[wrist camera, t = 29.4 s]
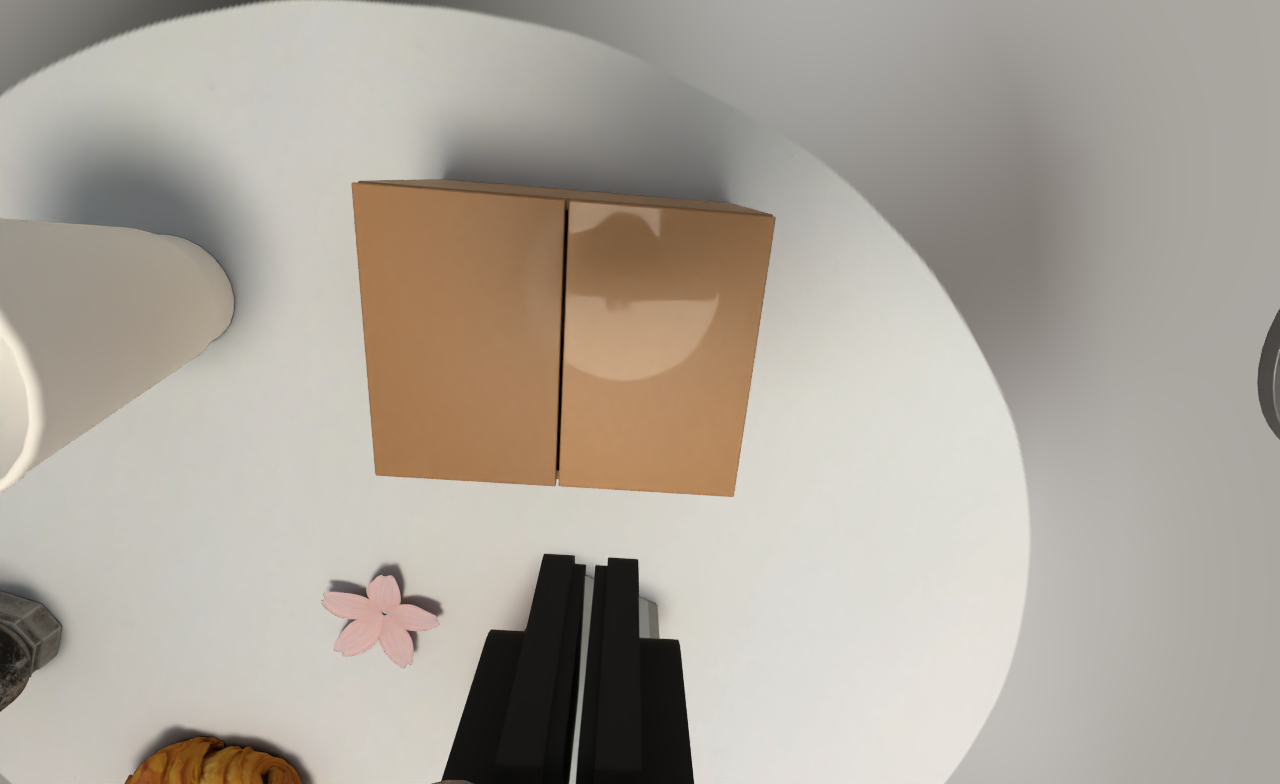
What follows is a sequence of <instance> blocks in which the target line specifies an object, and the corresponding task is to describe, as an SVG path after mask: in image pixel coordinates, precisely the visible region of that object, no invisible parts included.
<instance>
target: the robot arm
mask: <svg viewBox="0 0 1280 784" xmlns="http://www.w3.org/2000/svg"><path fill="white" fill-rule="evenodd" d="M585 575H586V565H583V564H575V556H573V555H556V554H544V556H543V559H542V564H541V568H540V572H539V576H538V581H537V585H536V589H535V593H534V598H533V602H532V606H531V611H530V615H529V619H528V623H527V628H526V631H507V630H490V632H489V633H488V636H487V638H486V641H485V644H484V647H483V650H482V654H481V657H480V660H479V663H478V666H477V669H476V673H475V676H474V679H473V682H472V685H471V689H470V692H469V695H468V698H467V701H466V704H465V708H464V711H463V714H462V717H461V720H460V723H459V727H458V730H457V733H456V736H455V739H454V742H453V746H452V749H451V752H450V755H449V758H448V761H447V765H446V768H445V771H444V774H443V777H442V780H441V782H437V783H433V784H569V782H570V773H571V763H572V753H573V744H574V734H575V724H576V715H577V705H578V694H579V681H580V663H581V646H582V628H583V610H584V593H585ZM576 784H694V778H693V769H692V759H691V749H690V739H689V729H688V719H687V710H686V700H685V690H684V680H683V670H682V660H681V651H680V644H679V641H678V640H674V639H656V638H640V636H639V572H638V559H624V558H608V566H600V565H596V566H595V576H594V587H593V598H592V608H591V619H590V629H589V640H588V651H587V661H586V672H585V682H584V693H583V704H582V714H581V725H580V735H579V746H578V758H577V771H576Z"/></svg>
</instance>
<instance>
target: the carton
mask: <svg viewBox="0 0 1280 784" xmlns="http://www.w3.org/2000/svg"><path fill="white" fill-rule="evenodd" d="M352 195H353V207H354V219H355V231H356V244H357V256H358V268H359V280H360V292H361V304H362V316H363V329H364V341H365V353H366V365H367V377H368V389H369V402H370V414H371V426H372V438H373V450H374V462H375V474H376V475H378V476H395V477H411V478H428V479H444V480H461V481H478V482H494V483H511V484H528V485H544V486H555V485H556V479H559V462H560V434H561V407H562V379H563V351H564V323H565V295H566V267H567V239H568V212H569V200H577V201H590V202H602V203H614V204H626V205H639V206H651V207H663V208H675V209H688V210H700V211H712V212H724V213H737V214H749V215H761V216H773V215H772V214H768V213H764V212H761V211H757V210H753V209H750V208H746V207H742V206H739V205H735V204H731V203H725V202H713V201H701V200H689V199H677V198H665V197H652V196H640V195H628V194H616V193H604V192H592V191H579V190H567V189H555V188H543V187H531V186H519V185H506V184H494V183H482V182H470V181H458V180H446V179H430V180H381V181H359V182H358V183H352Z"/></svg>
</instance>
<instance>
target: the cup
mask: <svg viewBox="0 0 1280 784" xmlns="http://www.w3.org/2000/svg"><path fill="white" fill-rule="evenodd" d="M233 313H234V295H233V291H232V287H231V284H230V282H229V280H228V278H227V276H226V274H225V272H224V270H223V269H222V267H221V266H220V265H219V264H218V263H217V261H216V260H215V259H214V258H213V257H212V256H211V255H210V254H209V253H207V252H206V251H205V250H204V249H202V248H201V247H200V246H198V245H196V244H194V243H192V242H190V241H188V240H186V239H184V238H180V237H175V236H171V235H155V234H153V233H150V232H146V231H142V230H138V229H134V228H125V227H111V226H97V225H83V224H69V223H56V222H42V221H28V220H14V219H0V493H1V492H3V491H5V490H6V489H8V488H9V487H11V486H12V485H14V484H15V483H17V482H18V481H20V480H21V479H22V478H23V477H24V475H25V474H26V472H28V471H29V470H31V469H32V468H34V467H35V466H37V465H38V464H40V463H41V462H43V461H44V460H45V459H47V458H48V457H50V456H51V455H53V454H54V453H56V452H57V451H59V450H60V449H62V448H63V447H65V446H66V445H68V444H69V443H70V442H72V441H73V440H75V439H76V438H78V437H79V436H81V435H82V434H84V433H85V432H87V431H88V430H90V429H91V428H92V427H94V426H95V425H97V424H98V423H100V422H101V421H103V420H104V419H106V418H107V417H109V416H110V415H112V414H113V413H115V412H116V411H117V410H119V409H120V408H122V407H123V406H125V405H126V404H128V403H129V402H131V401H132V400H134V399H135V398H137V397H138V396H140V395H141V394H142V393H144V392H145V391H147V390H148V389H150V388H151V387H153V386H154V385H156V384H157V383H159V382H160V381H162V380H163V379H165V378H166V377H167V376H169V375H170V374H172V373H173V372H175V371H176V370H178V369H179V368H181V367H182V366H184V365H185V364H187V363H188V362H189V361H191V360H192V359H194V358H195V357H197V356H198V355H200V354H201V353H202V352H203V351H204V349H205V348H206V347H207V346H208V344H209V343H210V342H211V341H213V340H214V339H216V338H217V337H219V336H220V335H222V334H223V332H224V331H225V330H226V328H227V327H228V326H229V325H230V322H231V319H232V316H233Z"/></svg>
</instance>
